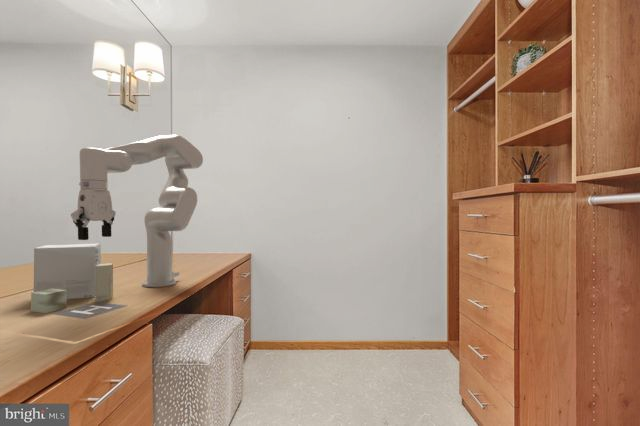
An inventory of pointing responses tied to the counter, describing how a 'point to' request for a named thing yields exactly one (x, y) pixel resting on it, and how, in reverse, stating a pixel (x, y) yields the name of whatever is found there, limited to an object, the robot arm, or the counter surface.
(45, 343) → the counter surface
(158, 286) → the robot arm
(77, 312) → the letter card
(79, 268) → the supplement box
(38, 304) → the sage block
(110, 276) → the skincare box
